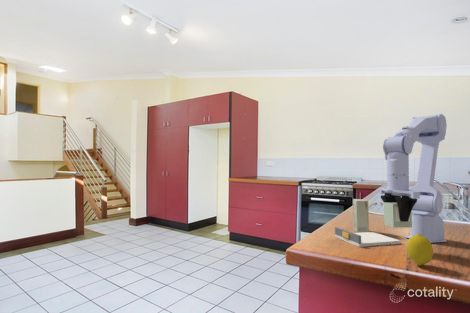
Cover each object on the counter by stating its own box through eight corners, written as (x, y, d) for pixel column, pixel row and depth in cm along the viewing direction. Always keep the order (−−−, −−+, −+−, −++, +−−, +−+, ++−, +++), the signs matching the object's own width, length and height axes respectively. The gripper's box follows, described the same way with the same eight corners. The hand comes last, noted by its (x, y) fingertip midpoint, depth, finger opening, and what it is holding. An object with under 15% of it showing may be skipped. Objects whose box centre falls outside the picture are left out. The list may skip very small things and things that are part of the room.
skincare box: (369, 233, 100) (369, 201, 100) (356, 233, 101) (356, 200, 101) (364, 230, 106) (364, 199, 106) (352, 229, 107) (352, 198, 107)
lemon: (438, 270, 64) (437, 237, 65) (412, 268, 65) (412, 236, 66) (426, 262, 70) (425, 231, 70) (402, 261, 71) (402, 230, 71)
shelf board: (372, 234, 99) (372, 225, 99) (400, 243, 87) (400, 233, 87) (334, 237, 94) (334, 227, 95) (357, 247, 83) (357, 235, 83)
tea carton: (384, 225, 83) (383, 202, 84) (402, 224, 84) (401, 202, 84) (394, 227, 79) (393, 203, 79) (413, 227, 80) (412, 203, 80)
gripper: (370, 174, 89) (371, 215, 88) (403, 175, 74) (403, 225, 74) (390, 174, 90) (390, 215, 89) (426, 176, 75) (427, 224, 75)
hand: (398, 219), depth 82 cm, fingers closed on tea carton, 4 cm apart
